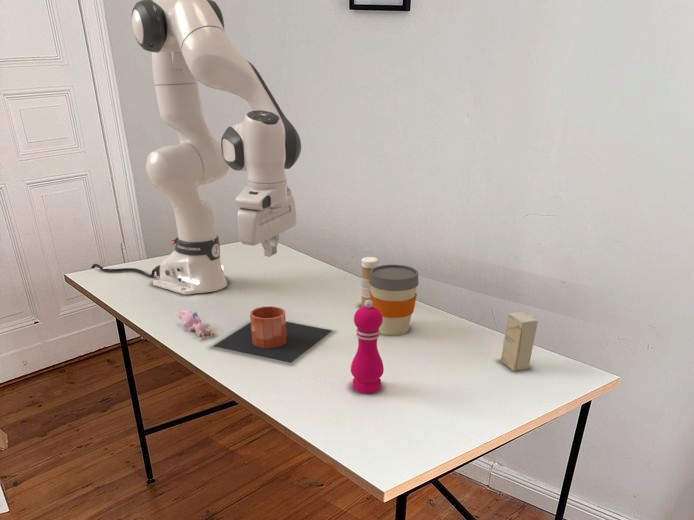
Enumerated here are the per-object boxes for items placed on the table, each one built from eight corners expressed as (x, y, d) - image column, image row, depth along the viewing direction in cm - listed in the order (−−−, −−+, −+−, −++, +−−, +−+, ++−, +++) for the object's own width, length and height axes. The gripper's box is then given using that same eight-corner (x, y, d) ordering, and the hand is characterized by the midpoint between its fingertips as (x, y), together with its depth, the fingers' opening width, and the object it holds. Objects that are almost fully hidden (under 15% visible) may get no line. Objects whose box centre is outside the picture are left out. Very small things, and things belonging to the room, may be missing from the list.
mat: (213, 347, 169) (212, 346, 168) (259, 317, 185) (259, 316, 185) (290, 364, 161) (290, 362, 161) (332, 331, 178) (332, 330, 178)
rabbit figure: (219, 340, 176) (190, 314, 184) (218, 319, 172) (189, 294, 180) (197, 346, 172) (168, 320, 180) (196, 325, 168) (167, 299, 176)
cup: (263, 332, 176) (246, 344, 170) (261, 304, 172) (243, 315, 165) (292, 338, 173) (275, 350, 167) (291, 309, 169) (273, 321, 162)
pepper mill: (385, 382, 154) (389, 295, 143) (379, 396, 148) (382, 307, 137) (354, 378, 155) (355, 292, 144) (347, 392, 150) (347, 304, 138)
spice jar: (369, 302, 196) (370, 255, 188) (380, 307, 193) (381, 259, 185) (357, 306, 193) (358, 258, 186) (367, 310, 191) (368, 262, 183)
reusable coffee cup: (372, 339, 174) (373, 281, 166) (364, 320, 184) (365, 265, 176) (420, 336, 176) (424, 279, 167) (410, 318, 186) (413, 263, 178)
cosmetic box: (500, 361, 164) (506, 312, 157) (515, 358, 165) (523, 310, 159) (514, 372, 159) (522, 322, 152) (530, 369, 161) (538, 319, 154)
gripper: (278, 182, 163) (281, 241, 171) (230, 200, 148) (236, 264, 156) (301, 185, 161) (303, 245, 169) (255, 204, 146) (259, 268, 154)
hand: (270, 254), depth 162 cm, fingers closed
